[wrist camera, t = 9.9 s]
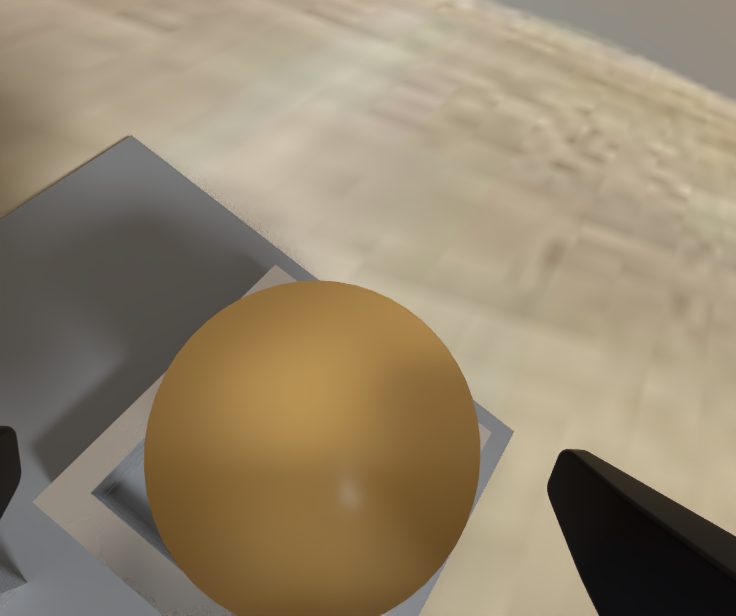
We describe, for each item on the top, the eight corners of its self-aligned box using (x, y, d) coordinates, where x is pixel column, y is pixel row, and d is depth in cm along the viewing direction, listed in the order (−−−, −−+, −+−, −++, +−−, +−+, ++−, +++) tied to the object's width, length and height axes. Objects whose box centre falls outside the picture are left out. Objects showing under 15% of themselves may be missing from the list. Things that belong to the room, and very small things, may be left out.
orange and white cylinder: (380, 497, 16) (538, 503, 7) (248, 578, 14) (226, 731, 5) (321, 375, 17) (388, 244, 8) (193, 434, 15) (94, 349, 6)
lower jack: (467, 438, 17) (491, 432, 16) (310, 714, 13) (318, 750, 11) (274, 287, 18) (275, 264, 16) (62, 500, 14) (32, 501, 12)
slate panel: (507, 433, 18) (514, 431, 18) (-64, 1518, 8) (-83, 1579, 7) (134, 143, 20) (131, 135, 19) (-774, 735, 9) (-827, 748, 9)
